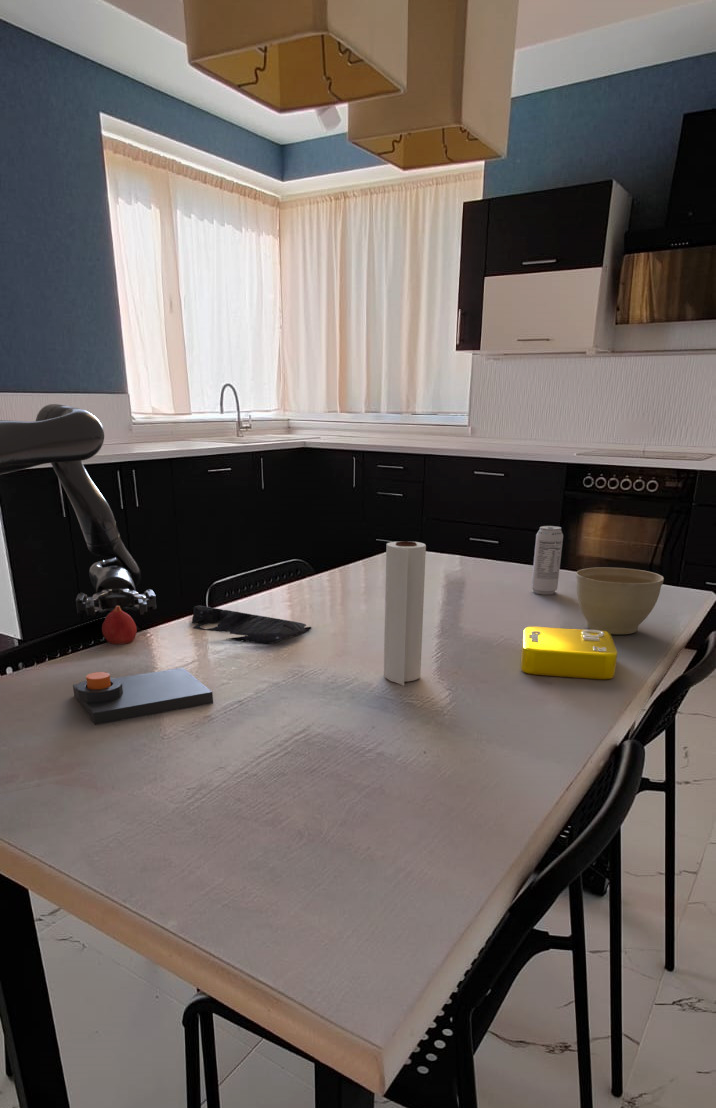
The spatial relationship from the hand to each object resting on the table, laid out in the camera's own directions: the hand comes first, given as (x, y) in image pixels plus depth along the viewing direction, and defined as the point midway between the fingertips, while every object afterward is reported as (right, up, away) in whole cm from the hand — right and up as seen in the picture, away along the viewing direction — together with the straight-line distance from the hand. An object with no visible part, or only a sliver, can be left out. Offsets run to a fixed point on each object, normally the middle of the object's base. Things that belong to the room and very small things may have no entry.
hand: (117, 610), depth 139 cm
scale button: (+7, -16, -29) cm, 34 cm away
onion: (+1, -7, -2) cm, 8 cm away
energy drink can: (+88, +11, +43) cm, 98 cm away
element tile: (+79, -10, -7) cm, 80 cm away
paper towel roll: (+50, -13, -14) cm, 54 cm away
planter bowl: (+94, -2, +14) cm, 95 cm away
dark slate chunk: (+23, -3, +9) cm, 24 cm away
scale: (+12, -17, -25) cm, 33 cm away
